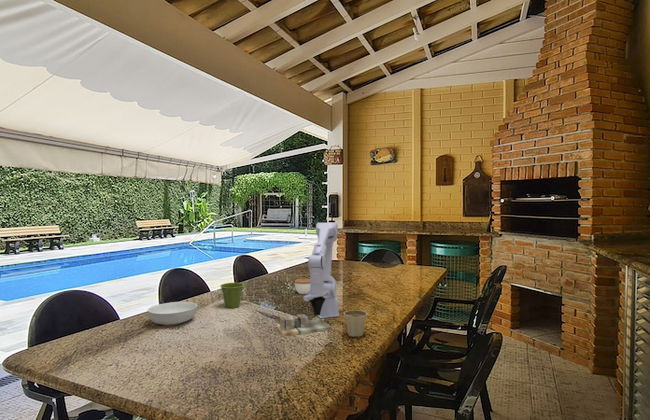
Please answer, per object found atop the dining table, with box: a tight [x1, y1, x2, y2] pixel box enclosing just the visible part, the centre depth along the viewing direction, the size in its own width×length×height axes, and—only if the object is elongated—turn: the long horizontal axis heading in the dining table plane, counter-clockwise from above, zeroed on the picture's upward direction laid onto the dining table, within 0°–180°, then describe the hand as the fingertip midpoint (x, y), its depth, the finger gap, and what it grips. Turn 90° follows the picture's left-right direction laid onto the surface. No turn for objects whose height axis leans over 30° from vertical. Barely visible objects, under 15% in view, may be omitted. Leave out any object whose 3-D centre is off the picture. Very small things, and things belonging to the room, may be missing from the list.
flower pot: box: [343, 309, 368, 338], centre depth 152 cm, size 9×9×9 cm
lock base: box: [276, 313, 332, 337], centre depth 160 cm, size 20×12×5 cm, turn 111°
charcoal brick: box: [285, 317, 301, 327], centre depth 159 cm, size 9×3×3 cm, turn 111°
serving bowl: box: [147, 301, 198, 326], centre depth 170 cm, size 21×21×7 cm
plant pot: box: [219, 282, 245, 309], centre depth 195 cm, size 12×12×11 cm
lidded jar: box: [294, 276, 310, 295], centre depth 224 cm, size 11×11×9 cm
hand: (317, 314), depth 162 cm, fingers closed
